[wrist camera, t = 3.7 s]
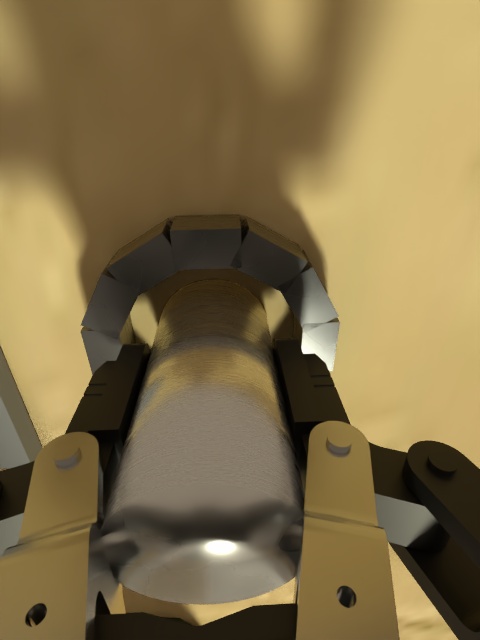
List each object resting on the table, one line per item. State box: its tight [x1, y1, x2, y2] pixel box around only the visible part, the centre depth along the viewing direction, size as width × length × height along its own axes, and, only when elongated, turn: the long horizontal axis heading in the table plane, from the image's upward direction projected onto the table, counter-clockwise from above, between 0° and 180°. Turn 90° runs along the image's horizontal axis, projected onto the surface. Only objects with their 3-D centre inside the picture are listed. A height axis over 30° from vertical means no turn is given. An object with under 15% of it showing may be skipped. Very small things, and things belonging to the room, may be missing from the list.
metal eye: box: [81, 215, 340, 374], centre depth 13 cm, size 8×8×2 cm
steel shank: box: [101, 279, 305, 605], centre depth 10 cm, size 4×4×8 cm
